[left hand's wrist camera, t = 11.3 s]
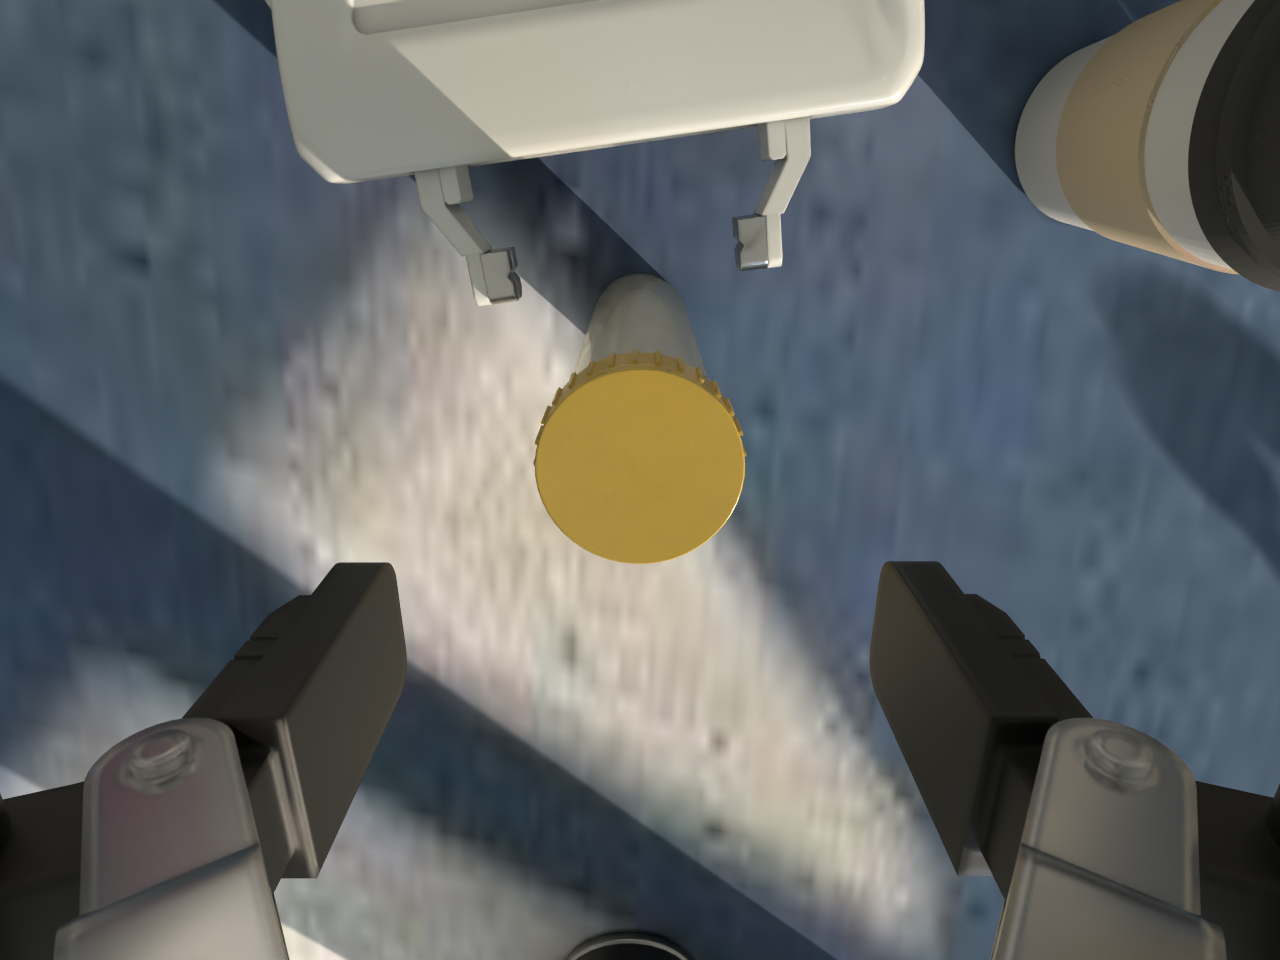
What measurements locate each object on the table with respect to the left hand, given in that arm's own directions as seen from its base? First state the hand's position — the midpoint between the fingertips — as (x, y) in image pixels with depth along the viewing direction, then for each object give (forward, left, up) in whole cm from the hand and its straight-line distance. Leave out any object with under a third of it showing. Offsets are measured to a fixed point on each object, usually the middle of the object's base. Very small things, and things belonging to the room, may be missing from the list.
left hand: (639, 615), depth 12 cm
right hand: (+1, +2, -18) cm, 18 cm away
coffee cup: (+20, -1, -24) cm, 32 cm away
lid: (0, 0, -6) cm, 6 cm away
